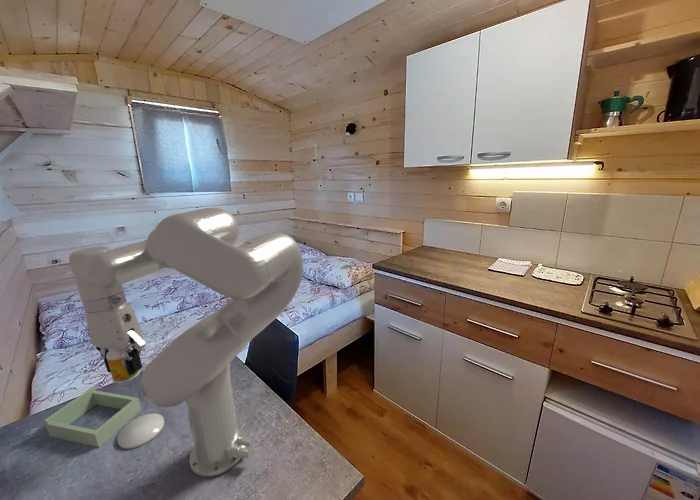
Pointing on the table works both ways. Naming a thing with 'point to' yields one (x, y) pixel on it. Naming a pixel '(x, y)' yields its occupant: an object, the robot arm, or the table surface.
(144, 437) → the saucer
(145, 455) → the table surface
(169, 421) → the table surface
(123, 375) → the supplement bottle
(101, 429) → the frame
